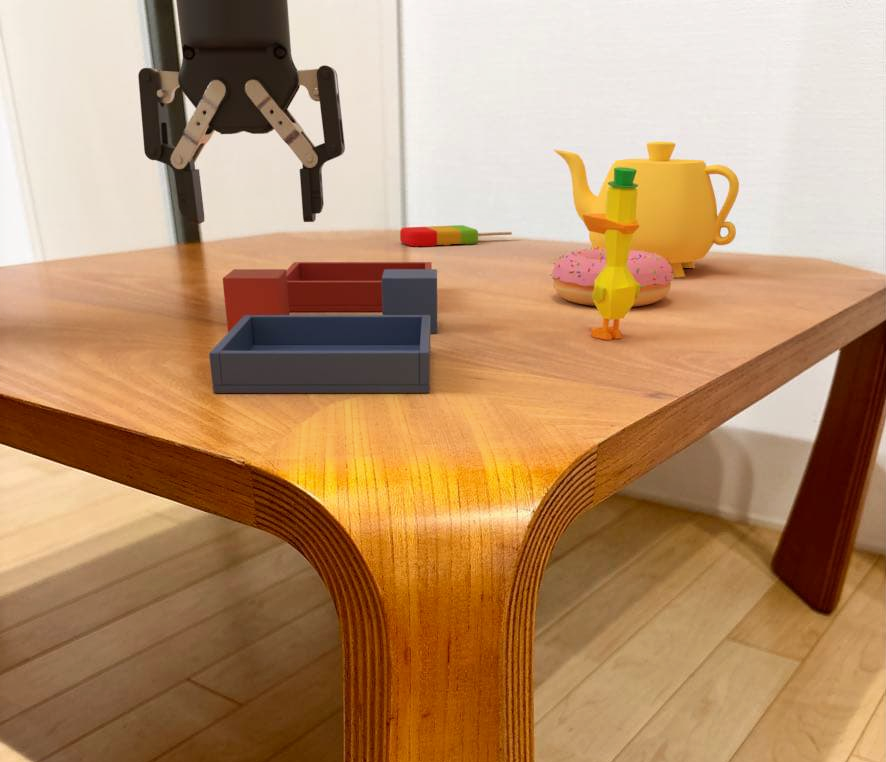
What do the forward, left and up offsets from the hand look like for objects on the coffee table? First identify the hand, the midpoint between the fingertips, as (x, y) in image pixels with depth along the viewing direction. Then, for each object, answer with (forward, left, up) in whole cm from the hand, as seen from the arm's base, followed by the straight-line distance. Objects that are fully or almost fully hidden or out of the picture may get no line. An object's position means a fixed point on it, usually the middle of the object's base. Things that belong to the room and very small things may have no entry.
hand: (253, 222), depth 69 cm
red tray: (+7, +12, -8) cm, 16 cm away
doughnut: (+30, +12, -8) cm, 33 cm away
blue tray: (+7, -13, -8) cm, 17 cm away
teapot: (+36, +30, -8) cm, 47 cm away
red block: (0, 0, -8) cm, 8 cm away
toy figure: (+27, -3, -8) cm, 28 cm away
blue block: (+12, 0, -8) cm, 14 cm away
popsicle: (+17, +52, -8) cm, 55 cm away
